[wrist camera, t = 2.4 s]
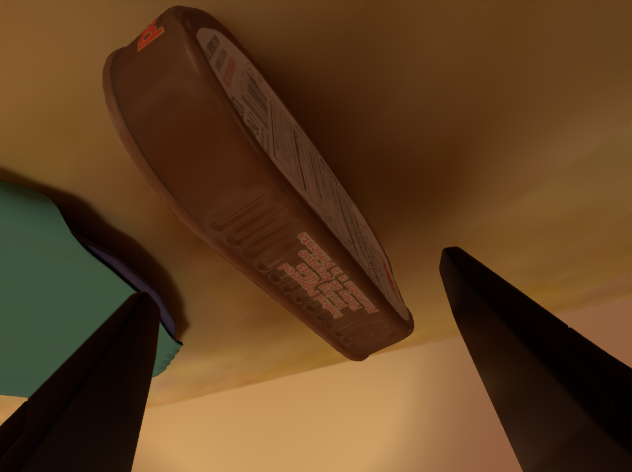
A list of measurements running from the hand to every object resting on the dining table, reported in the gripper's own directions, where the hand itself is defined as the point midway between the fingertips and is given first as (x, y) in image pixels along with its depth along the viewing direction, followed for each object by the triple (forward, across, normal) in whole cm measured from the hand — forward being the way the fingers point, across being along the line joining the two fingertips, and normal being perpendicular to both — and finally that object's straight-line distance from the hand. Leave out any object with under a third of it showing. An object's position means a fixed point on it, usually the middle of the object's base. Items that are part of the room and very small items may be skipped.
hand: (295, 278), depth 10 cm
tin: (+8, 0, 0) cm, 8 cm away
